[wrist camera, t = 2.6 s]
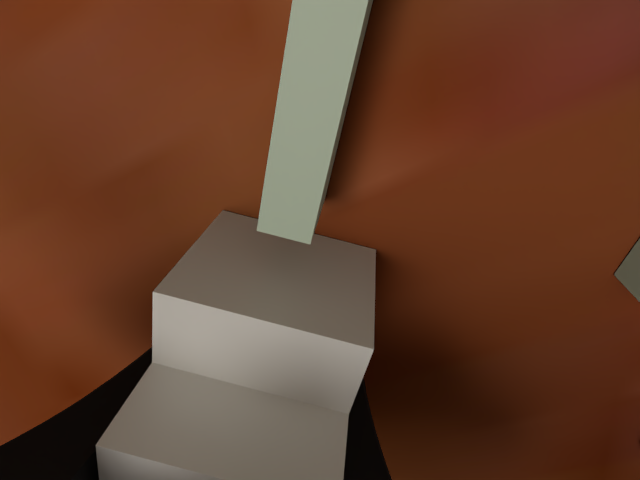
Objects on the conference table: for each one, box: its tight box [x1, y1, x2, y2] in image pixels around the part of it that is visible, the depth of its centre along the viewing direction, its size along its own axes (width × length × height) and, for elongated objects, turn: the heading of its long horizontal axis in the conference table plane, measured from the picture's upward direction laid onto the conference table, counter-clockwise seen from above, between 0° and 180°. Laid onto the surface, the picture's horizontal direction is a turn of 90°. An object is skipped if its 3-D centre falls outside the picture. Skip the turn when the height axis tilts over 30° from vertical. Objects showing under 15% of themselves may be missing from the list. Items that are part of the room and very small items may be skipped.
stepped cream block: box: [96, 210, 376, 480], centre depth 11 cm, size 8×4×6 cm, turn 168°
